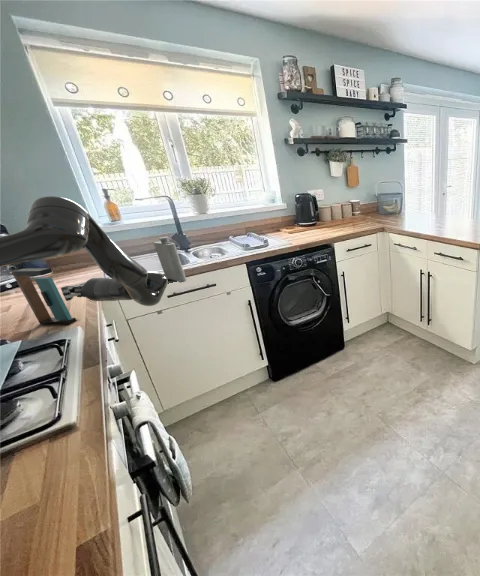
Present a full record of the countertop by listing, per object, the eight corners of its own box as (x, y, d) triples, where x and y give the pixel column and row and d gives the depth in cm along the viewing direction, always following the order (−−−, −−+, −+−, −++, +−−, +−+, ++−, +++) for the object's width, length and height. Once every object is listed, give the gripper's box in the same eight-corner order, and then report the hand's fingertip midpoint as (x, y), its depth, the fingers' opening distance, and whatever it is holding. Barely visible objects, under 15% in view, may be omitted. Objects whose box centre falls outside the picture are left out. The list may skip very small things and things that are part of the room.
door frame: (67, 325, 105) (39, 270, 98) (40, 324, 107) (10, 271, 100) (76, 320, 108) (50, 267, 101) (50, 320, 110) (22, 268, 103)
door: (65, 321, 104) (43, 279, 99) (52, 321, 105) (30, 280, 100) (75, 316, 107) (55, 276, 102) (62, 316, 108) (42, 276, 103)
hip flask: (164, 278, 148) (150, 237, 141) (173, 275, 151) (160, 235, 144) (180, 282, 139) (166, 239, 132) (190, 279, 142) (176, 237, 135)
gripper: (122, 271, 103) (80, 272, 106) (80, 286, 91) (34, 286, 94) (130, 291, 106) (90, 292, 109) (91, 308, 93) (46, 308, 97)
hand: (64, 289), depth 101 cm, fingers closed
